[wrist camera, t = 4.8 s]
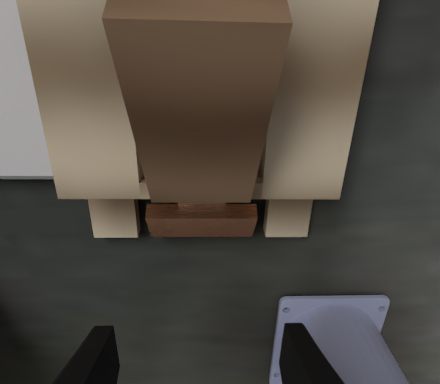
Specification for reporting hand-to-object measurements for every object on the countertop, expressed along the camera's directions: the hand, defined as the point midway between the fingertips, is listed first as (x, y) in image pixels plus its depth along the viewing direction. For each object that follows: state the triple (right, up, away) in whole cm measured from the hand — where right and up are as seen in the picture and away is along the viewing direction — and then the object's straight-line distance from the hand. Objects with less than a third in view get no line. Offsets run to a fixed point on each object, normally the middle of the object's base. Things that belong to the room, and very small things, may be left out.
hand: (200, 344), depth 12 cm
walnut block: (0, +9, 0) cm, 9 cm away
